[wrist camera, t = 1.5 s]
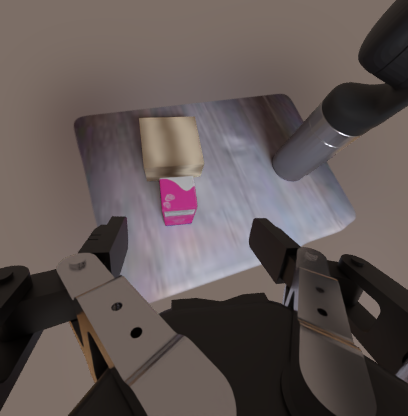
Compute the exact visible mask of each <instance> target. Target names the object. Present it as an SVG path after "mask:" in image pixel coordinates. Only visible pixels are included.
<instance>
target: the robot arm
mask: <svg viewBox="0 0 408 416" xmlns="http://www.w3.org/2000/svg"><path fill="white" fill-rule="evenodd" d="M358 60H359V62H360V64H361V65H362V66H363V67H364V68H365V69H366V70H367V71H368V72H369V73H372V74H373V75H374V76H376V77H377V78H379V79H380V80H382V81H383V82H385V84H378V85H368V84H361V83H352V82H349V83H343V84H340V85H338V86H337V87H335V88H334V89H333V90H332V91H331V92H330V93H329V94H328V95H327V96H326V98H325V99H324V100H323V101H322V102H321V103H320V104H319V106H318V107H317V108H316V109H315V110H314V111H313V112H312V113H311V115H310V116H309V117H308V118H307V119H306V120H305V121H304V122H303V124H302V125H301V126H300V127H299V128H298V129H297V130H296V131H295V132H294V134H293V135H292V136H291V137H290V138H289V139H288V140H287V141H286V143H285V144H284V145H283V146H282V147H281V148H280V149H279V150H278V151H277V153H276V154H275V155H274V157H273V160H272V163H273V167H274V170H275V171H276V173H277V174H278V175H279V176H280V177H281V178H283V179H285V180H288V181H297V180H300V179H301V178H303V177H304V176H305V175H308V174H309V173H311V172H312V171H314V170H315V169H316V168H318V167H319V166H321V165H322V164H323V163H325V162H326V161H328V160H329V159H330V158H332V157H333V156H335V155H336V153H338V152H339V151H341V150H342V149H343V148H345V147H346V146H348V145H349V144H350V143H351V142H353V141H355V140H356V139H357V138H359V137H360V136H362V135H363V134H364V133H366V132H367V131H369V130H370V129H372V128H374V127H376V126H378V125H379V124H381V123H382V122H384V121H386V120H387V119H389V118H390V117H392V116H393V115H394V114H396V113H397V112H399V111H401V110H402V109H403V108H405V107H407V106H408V0H396V1H395V2H394V3H393V4H392V5H391V6H390V8H389V9H388V10H387V11H386V12H385V13H384V14H383V16H382V17H381V18H380V19H379V20H378V22H377V23H376V24H375V25H374V27H373V28H372V29H371V31H370V32H369V34H368V35H367V37H366V38H365V40H364V42H363V44H362V46H361V48H360V51H359V55H358ZM249 245H250V248H251V249H252V251H253V252H254V254H255V255H256V257H257V258H258V259H259V261H260V262H261V264H262V265H263V266H264V268H265V269H266V271H267V272H268V273H269V275H270V276H271V278H272V279H273V281H274V282H275V283H276V284H281V283H285V284H286V286H285V289H284V295H283V303H282V304H281V303H278V302H274V301H269V300H268V299H267V297H266V295H265V293H255V294H243V295H240V296H237V297H234V298H231V299H228V300H225V301H214V300H207V299H198V298H191V299H178V300H172V303H171V309H168V310H166V311H163V312H161V313H160V314H158V313H157V312H156V311H155V310H154V309H153V308H152V307H151V306H150V305H149V303H148V302H147V301H146V300H145V299H144V298H143V297H142V296H141V295H140V294H139V292H138V291H137V290H136V289H135V288H134V287H133V286H132V285H131V284H130V283H129V282H128V280H127V279H126V278H125V277H124V276H122V275H120V272H121V269H122V266H123V263H124V259H125V256H126V253H127V249H128V229H127V218H126V217H114V216H112V217H111V219H110V221H109V222H108V224H107V225H100V226H99V227H97V228H96V229H95V230H94V231H93V232H92V233H91V236H89V238H88V240H87V241H86V242H85V243H84V245H83V246H82V248H81V249H80V251H79V252H78V254H74V255H71V256H69V257H66V258H65V259H63V260H62V261H60V262H59V263H58V265H57V267H56V269H55V270H51V271H47V272H42V273H38V274H33V275H30V272H29V269H28V268H27V267H25V266H10V267H4V268H1V269H0V411H1V409H2V407H3V405H4V403H5V401H6V400H7V398H8V396H9V394H10V392H11V390H12V388H13V386H14V385H15V383H16V381H17V379H18V377H19V375H20V373H21V371H22V370H23V368H24V366H25V364H26V362H27V360H28V358H29V356H30V354H31V353H32V350H33V348H34V347H35V345H36V343H37V341H38V339H39V338H40V336H41V334H42V332H43V330H44V329H47V328H50V327H53V326H56V325H59V324H62V323H65V322H68V321H69V323H70V326H71V328H72V330H73V332H74V334H75V337H76V339H77V341H78V343H79V345H80V347H81V349H82V351H83V354H84V356H85V358H86V361H87V364H88V367H89V370H90V373H91V376H92V378H93V380H94V383H95V384H94V385H93V386H92V388H91V389H90V390H89V391H88V392H87V393H86V395H85V396H84V397H83V398H82V400H81V401H80V402H79V403H78V404H77V405H76V407H75V408H74V409H73V410H72V411H71V412H70V414H69V415H68V416H408V290H407V289H406V288H404V287H403V286H401V285H400V284H399V283H397V282H396V281H394V280H393V279H391V278H390V277H389V276H387V275H386V274H384V273H383V272H381V271H380V270H378V269H377V268H376V267H374V266H373V265H371V264H370V263H369V262H367V261H365V260H364V259H362V258H359V257H357V256H353V255H348V254H344V255H342V256H341V258H340V260H339V262H335V261H329V260H327V259H326V257H325V256H324V255H323V254H322V253H320V252H318V251H316V250H314V249H311V248H306V247H300V246H299V245H298V244H297V243H296V242H295V241H294V240H292V239H291V238H290V237H289V236H288V235H287V234H286V233H284V232H283V231H282V230H281V229H279V228H278V227H276V226H274V225H273V224H272V223H271V222H270V221H269V220H268V219H266V218H255V219H254V220H253V223H252V228H251V232H250V237H249ZM363 290H364V291H365V292H366V293H367V294H368V295H370V296H371V297H372V298H373V299H374V300H375V301H376V302H377V303H378V304H379V306H380V310H381V312H380V315H379V316H378V318H377V319H376V318H375V317H373V316H372V315H371V314H370V313H369V312H368V311H367V310H366V309H365V308H364V307H363V306H362V305H361V304H360V303H359V302H358V300H359V297H360V296H361V294H362V292H363ZM351 333H352V334H353V335H354V336H355V337H356V339H357V340H358V341H359V342H360V343H361V344H362V346H363V347H364V348H365V349H366V350H367V352H368V353H369V354H370V355H371V356H372V357H373V359H374V360H375V361H376V362H377V363H378V364H377V363H376V362H374V361H373V360H371V359H370V358H368V357H366V356H365V355H363V353H362V351H361V350H360V349H359V347H357V346H356V345H355V344H354V342H353V338H352V334H351Z"/></svg>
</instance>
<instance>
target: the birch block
mask: <svg viewBox="0 0 408 416" xmlns="http://www.w3.org/2000/svg"><path fill="white" fill-rule="evenodd" d="M139 123H140V133H141V143H142V153H143V163H144V170H145V174H146V177H147V181H156V180H159V179H160V178H169V177H184V176H193V177H200V176H201V173H202V169H203V166H204V160H203V155H202V150H201V145H200V140H199V135H198V131H197V126H196V121H195V117H160V118H139Z"/></svg>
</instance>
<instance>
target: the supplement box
mask: <svg viewBox="0 0 408 416" xmlns="http://www.w3.org/2000/svg"><path fill="white" fill-rule="evenodd" d="M159 180H160V194H161V205H162V212H163V217H164V221H165V226H171V225H181V224H190V223H192V220H193V218H194V215H195V212H196V209H197V198H196V191H195V184H194V177H193V176H184V177H169V178H160V179H159Z"/></svg>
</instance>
